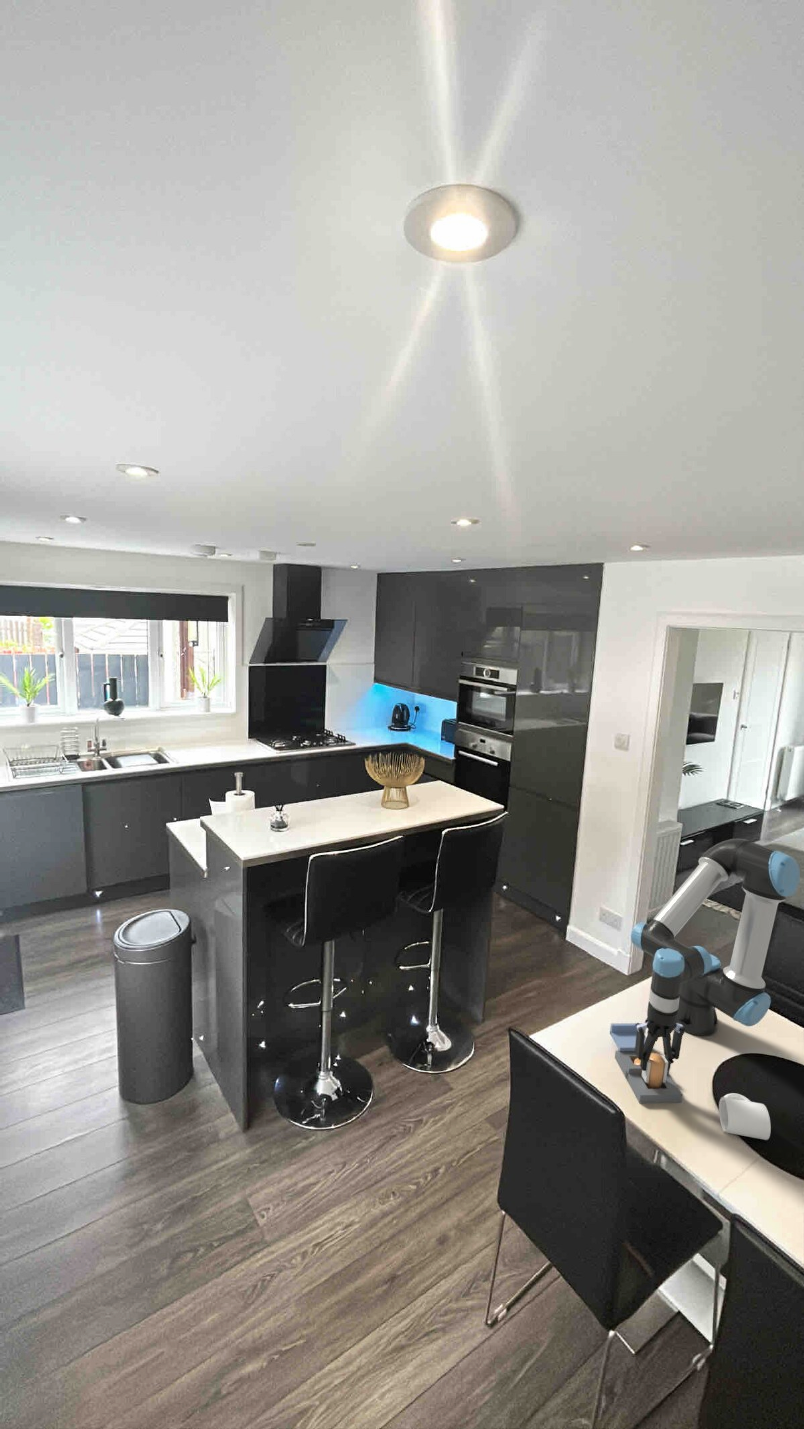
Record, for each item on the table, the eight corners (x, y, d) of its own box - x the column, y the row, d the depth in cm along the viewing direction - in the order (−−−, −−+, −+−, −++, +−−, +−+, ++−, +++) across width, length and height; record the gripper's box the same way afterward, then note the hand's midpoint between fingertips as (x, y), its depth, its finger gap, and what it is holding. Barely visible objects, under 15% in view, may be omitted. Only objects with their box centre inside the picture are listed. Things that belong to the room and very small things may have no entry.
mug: (768, 1147, 158) (773, 1121, 156) (726, 1139, 160) (730, 1113, 158) (752, 1110, 169) (756, 1085, 168) (712, 1103, 171) (716, 1078, 170)
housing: (653, 1057, 188) (654, 1045, 187) (681, 1102, 171) (683, 1089, 170) (614, 1057, 187) (616, 1045, 186) (639, 1103, 170) (641, 1089, 169)
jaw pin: (664, 1089, 173) (667, 1064, 172) (648, 1089, 173) (652, 1064, 172) (656, 1077, 178) (659, 1053, 176) (641, 1077, 177) (644, 1053, 176)
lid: (640, 1033, 194) (642, 1023, 193) (652, 1050, 187) (653, 1040, 186) (609, 1033, 193) (610, 1023, 193) (619, 1051, 186) (620, 1040, 185)
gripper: (686, 996, 175) (676, 1068, 179) (626, 996, 174) (618, 1069, 178) (700, 1013, 168) (690, 1089, 172) (638, 1014, 166) (629, 1089, 171)
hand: (653, 1078), depth 175 cm, fingers closed on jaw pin, 4 cm apart
